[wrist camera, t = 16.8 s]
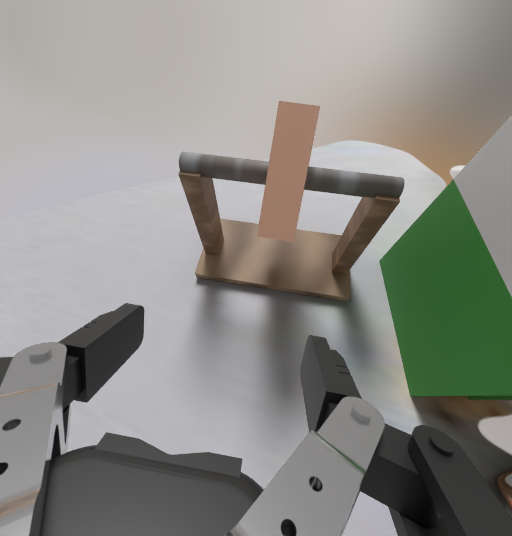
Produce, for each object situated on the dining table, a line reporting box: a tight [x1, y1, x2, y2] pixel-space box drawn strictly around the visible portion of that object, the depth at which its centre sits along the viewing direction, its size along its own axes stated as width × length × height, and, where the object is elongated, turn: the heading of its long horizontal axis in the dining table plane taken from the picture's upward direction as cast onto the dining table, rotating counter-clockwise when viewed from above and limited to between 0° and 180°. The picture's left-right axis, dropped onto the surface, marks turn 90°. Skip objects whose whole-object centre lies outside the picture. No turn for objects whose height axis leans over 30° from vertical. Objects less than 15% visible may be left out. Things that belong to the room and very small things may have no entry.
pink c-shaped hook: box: [257, 101, 320, 242], centre depth 24 cm, size 3×10×12 cm
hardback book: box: [380, 115, 512, 400], centre depth 21 cm, size 18×7×24 cm, turn 177°
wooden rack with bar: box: [179, 152, 404, 301], centre depth 28 cm, size 21×10×16 cm, turn 80°
